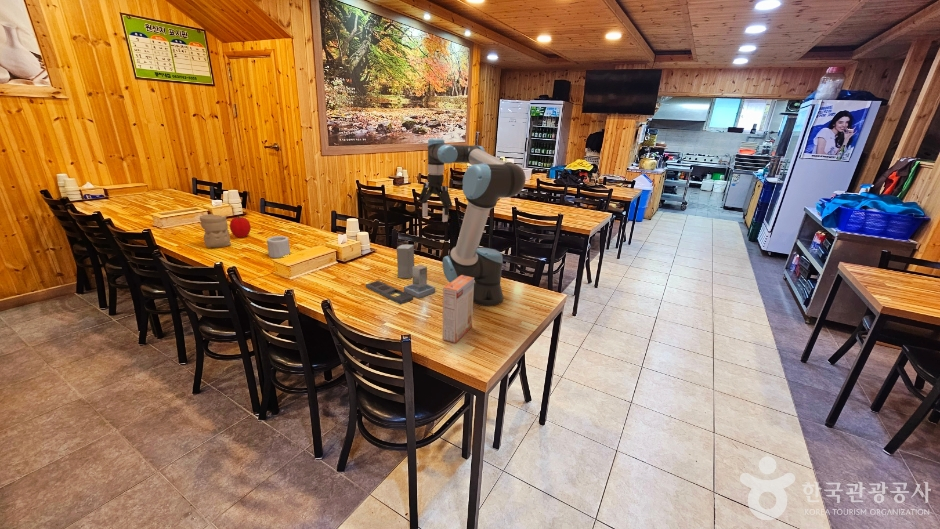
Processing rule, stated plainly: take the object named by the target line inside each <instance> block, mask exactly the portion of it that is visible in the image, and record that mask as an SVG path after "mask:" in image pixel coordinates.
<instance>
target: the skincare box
mask: <svg viewBox="0 0 940 529" xmlns="http://www.w3.org/2000/svg"><path fill="white" fill-rule="evenodd" d="M396 258H397V259H396V261H397V263H396V264H397V278H400V279H408V280H410V279H411V278H413V266H415V245H414V244H401V245H398V246H397V247H396Z"/></svg>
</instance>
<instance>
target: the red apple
mask: <svg viewBox="0 0 940 529" xmlns="http://www.w3.org/2000/svg"><path fill="white" fill-rule="evenodd" d="M229 229H230V231H231V233H232V235H233V237H236V238H246V237H247V236H249V234H250V233H251V224H250V221H249V220H248V219H247V218H245V217H244V216H242V217H241V216H237V217H233V218H232V219H231V220H230V223H229Z"/></svg>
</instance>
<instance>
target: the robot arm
mask: <svg viewBox="0 0 940 529" xmlns="http://www.w3.org/2000/svg"><path fill="white" fill-rule="evenodd" d="M445 143H446V142H445V140H444V139H443V138H429V139H428V141H427V173H428V174H426V175H427V182H423V187H422V190H421V192H420V195H419V197H418V202H420V203H421V210H422V214H421V215H422V216H421V217H423V218H425V217H428V212H429V211H428V209H429V208H428V206H429V205H428V204H429V203H428V201H429V200H430V198H431V196H432V195H435V196H436V195H437V197H438V198H439V201H440V202H441V204H442V206H443V207H442V220H441V222H443V223H445V222H448V220H449V216H448V215H449V214H450V208H452V207H453V202H452V200H451V196H450V192H449V188H448V185H443V184H444V182H445V181H444V180H445V179H444V173H445V172H444V171H445V164H449V165H450V164H469V165H470V166H469V167H468V168H467V169H466V171H465V173H464V175H463V178H462V192H463V195H464V196H465V200H466V201H467V206H466V209H465V212H464V216H463V220H462V224H461V227H460V230H459V235H458V239H457V242H456V246H453V247H452V249H451V250H450V254H449V255H446V256H444V257H443V258H442V270H443V274H444V276H445V279H446V281H447V282H449V283H451V282H452V281H453V280H455V279H456V278H458V277H459V276H460V275H464V276H468V277H473V278H474V294H473V304H477V305H480V306H487V307H488V306H489V307H490V306H491V307H492V305H493V306H497V304H498V305H500V304H501V303H502V302H504V294H503V290H502V286H501V283H502V282H501V279H502V269H503V268H502V267H503V263H504V262H503V254H502V252H501V251H499V250H496V249H494V248H490V247H489V248H488V247H479V246H480V242H481V239H482V236H483V233H484V230H485V227H486V224H487V222H488V221H487V220H488V219H489V218H488V217H489V216H490V211H491V209H493V208H495V207H496V205H497V203H498V201H499V199H501V198H504V199H505V198H511V197H515V196H517V195H518V194H519V193H520V192H521V191H522V190H523V189H524V188H525V185H526V179H527V178H526V174H525V171H524V169H523V168H522V167H520V166H519V165H518V164H516V163H513V162H511V161H504V160H502V159H501V158H498V157H496V156H494V155H492V154H489V153H488V152H486V150H485V149H484V146H481V145H476V144H475V145H470V144H467V145H462V144H445ZM499 303H500V304H499Z"/></svg>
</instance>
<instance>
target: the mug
mask: <svg viewBox="0 0 940 529" xmlns="http://www.w3.org/2000/svg"><path fill="white" fill-rule="evenodd" d="M289 240H290V239H289V237H287V236H283V235H275V236H271V237H267V239H266V243H267V244H266V245H267V253H268V256H269V258H271V259H281V258H280V257H283V256H285V255H288V254H290V255H291V248H290V241H289Z"/></svg>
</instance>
